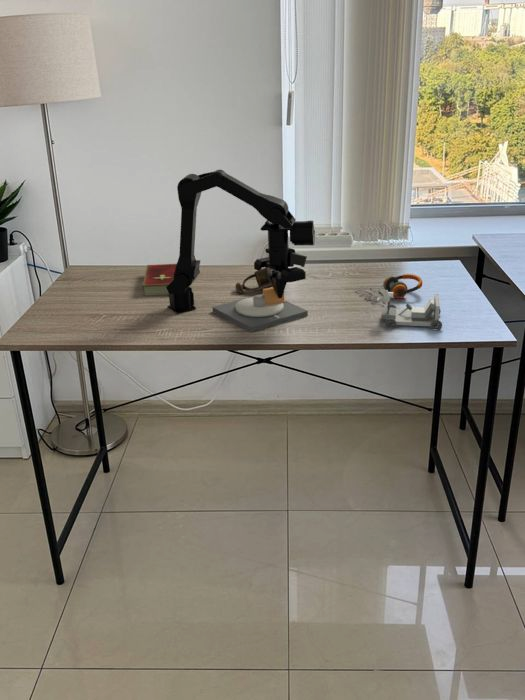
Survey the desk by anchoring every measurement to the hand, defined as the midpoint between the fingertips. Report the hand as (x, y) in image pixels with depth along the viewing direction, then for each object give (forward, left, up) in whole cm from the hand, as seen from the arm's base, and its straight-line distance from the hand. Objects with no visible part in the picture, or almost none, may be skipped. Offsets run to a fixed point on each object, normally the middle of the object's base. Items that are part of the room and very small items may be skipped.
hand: (280, 297), depth 213 cm
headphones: (+36, -9, -5) cm, 37 cm away
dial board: (-5, +4, -5) cm, 8 cm away
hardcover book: (-14, +45, -6) cm, 47 cm away
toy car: (+25, -27, -5) cm, 37 cm away
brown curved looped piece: (+6, +21, -5) cm, 23 cm away
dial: (-5, +4, -3) cm, 7 cm away
